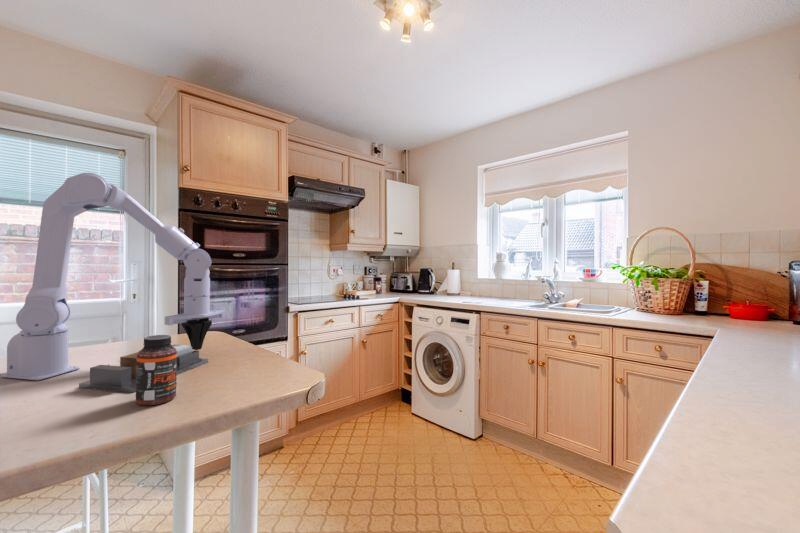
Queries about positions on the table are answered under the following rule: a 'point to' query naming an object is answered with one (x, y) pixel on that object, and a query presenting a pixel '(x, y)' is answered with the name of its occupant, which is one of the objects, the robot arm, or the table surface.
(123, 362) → the block
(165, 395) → the supplement bottle
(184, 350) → the ram
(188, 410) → the table surface
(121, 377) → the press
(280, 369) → the table surface
